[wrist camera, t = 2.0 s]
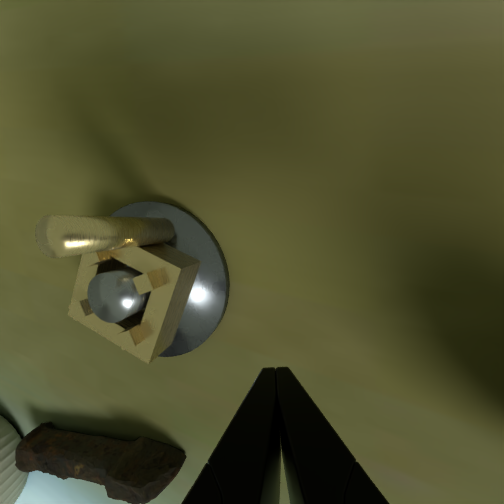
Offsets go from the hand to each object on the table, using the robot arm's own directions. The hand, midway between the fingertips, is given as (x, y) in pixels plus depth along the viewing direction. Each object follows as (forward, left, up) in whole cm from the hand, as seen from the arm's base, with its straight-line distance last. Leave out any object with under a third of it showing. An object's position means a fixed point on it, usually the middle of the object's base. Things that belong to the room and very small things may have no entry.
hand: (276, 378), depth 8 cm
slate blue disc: (+13, -1, -11) cm, 17 cm away
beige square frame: (+12, -1, -10) cm, 16 cm away
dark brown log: (+21, +17, -12) cm, 30 cm away
